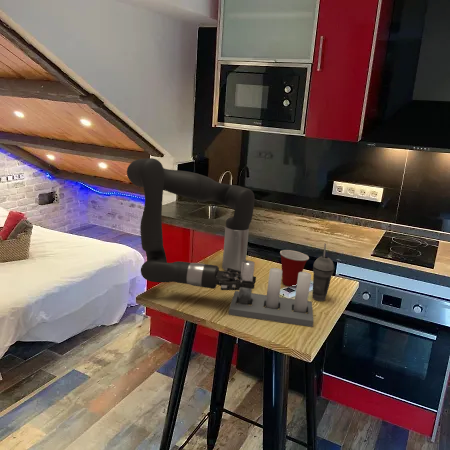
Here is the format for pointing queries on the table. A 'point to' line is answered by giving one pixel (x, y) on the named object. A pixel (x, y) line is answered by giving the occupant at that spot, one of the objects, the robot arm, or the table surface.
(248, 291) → the steel pin
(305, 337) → the table surface
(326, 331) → the table surface
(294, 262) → the plastic cup
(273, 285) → the pin board
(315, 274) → the beverage cup
